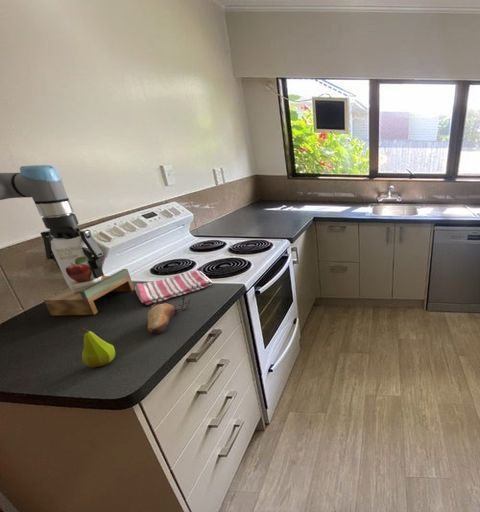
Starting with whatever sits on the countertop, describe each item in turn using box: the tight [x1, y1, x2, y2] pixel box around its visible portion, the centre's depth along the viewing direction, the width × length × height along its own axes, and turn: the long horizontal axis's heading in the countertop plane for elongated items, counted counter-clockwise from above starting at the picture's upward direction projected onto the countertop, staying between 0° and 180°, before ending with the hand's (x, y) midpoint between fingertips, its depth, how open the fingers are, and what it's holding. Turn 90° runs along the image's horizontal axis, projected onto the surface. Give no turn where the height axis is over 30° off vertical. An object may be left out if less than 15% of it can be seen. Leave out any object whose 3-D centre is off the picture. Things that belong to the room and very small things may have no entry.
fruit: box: [80, 327, 116, 368], centre depth 74 cm, size 6×6×12 cm
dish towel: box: [133, 270, 214, 306], centre depth 114 cm, size 17×23×4 cm
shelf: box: [43, 268, 135, 316], centre depth 104 cm, size 14×18×9 cm
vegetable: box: [146, 293, 191, 335], centre depth 91 cm, size 16×11×10 cm
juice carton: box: [51, 236, 102, 293], centre depth 100 cm, size 8×9×19 cm
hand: (84, 276), depth 102 cm, fingers closed on juice carton, 9 cm apart
